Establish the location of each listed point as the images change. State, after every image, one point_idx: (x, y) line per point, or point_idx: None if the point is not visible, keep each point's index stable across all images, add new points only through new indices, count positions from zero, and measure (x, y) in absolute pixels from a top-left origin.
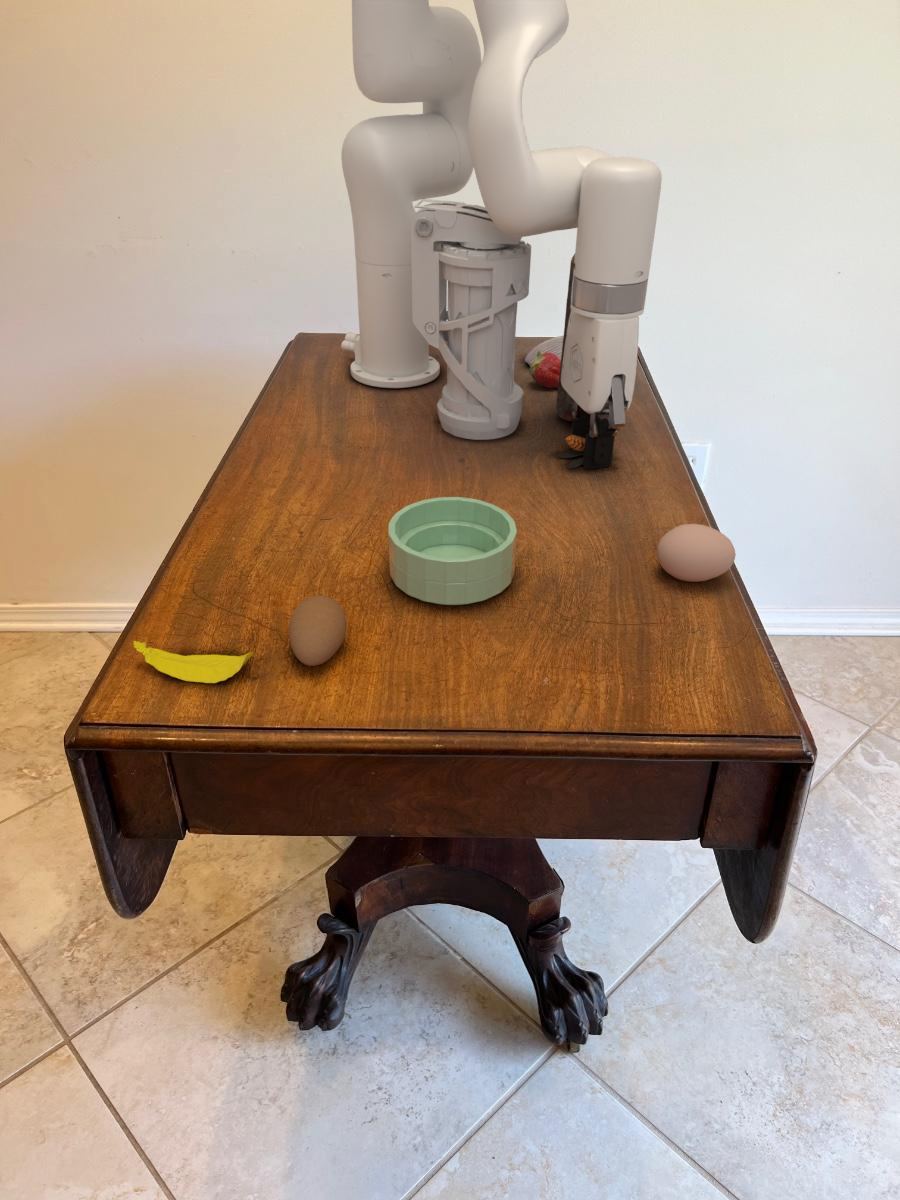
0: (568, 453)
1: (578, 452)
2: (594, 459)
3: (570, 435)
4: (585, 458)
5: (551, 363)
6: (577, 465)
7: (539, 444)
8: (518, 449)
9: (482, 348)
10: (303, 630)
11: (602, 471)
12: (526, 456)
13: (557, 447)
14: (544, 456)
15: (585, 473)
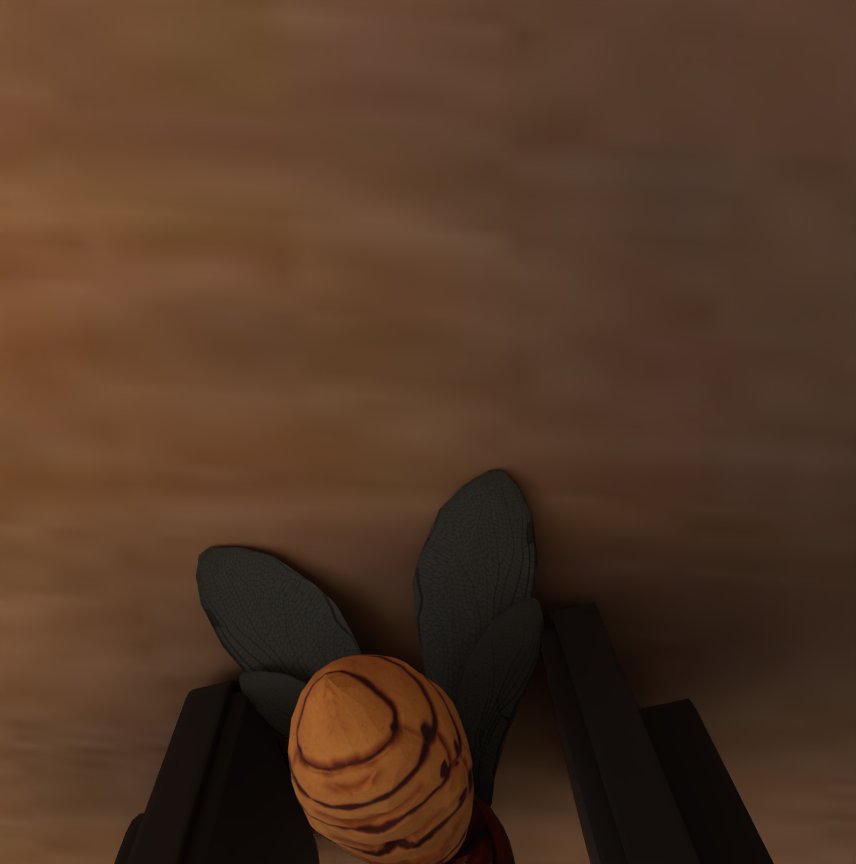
0: (505, 581)
1: (463, 681)
2: (125, 838)
3: (370, 762)
4: (167, 760)
5: None
6: (243, 635)
7: (814, 300)
8: (706, 19)
9: None
10: None
11: None
12: (497, 115)
13: (712, 483)
14: (496, 332)
15: (132, 676)
